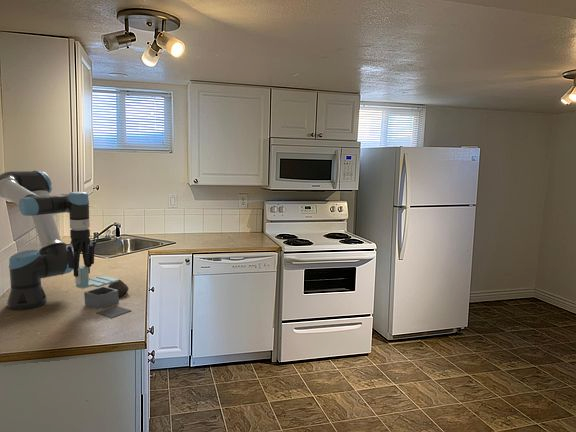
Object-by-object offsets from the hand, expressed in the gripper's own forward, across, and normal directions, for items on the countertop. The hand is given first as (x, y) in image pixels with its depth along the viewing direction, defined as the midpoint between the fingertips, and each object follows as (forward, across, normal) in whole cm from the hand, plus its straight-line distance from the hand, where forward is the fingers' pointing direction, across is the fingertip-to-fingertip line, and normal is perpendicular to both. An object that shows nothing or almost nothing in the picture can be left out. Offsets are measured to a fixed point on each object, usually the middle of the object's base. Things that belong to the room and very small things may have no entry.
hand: (82, 282), depth 191 cm
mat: (+12, +5, -14) cm, 19 cm away
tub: (+12, +9, 0) cm, 15 cm away
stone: (+13, +21, +4) cm, 25 cm away
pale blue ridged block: (+2, +6, 0) cm, 7 cm away
